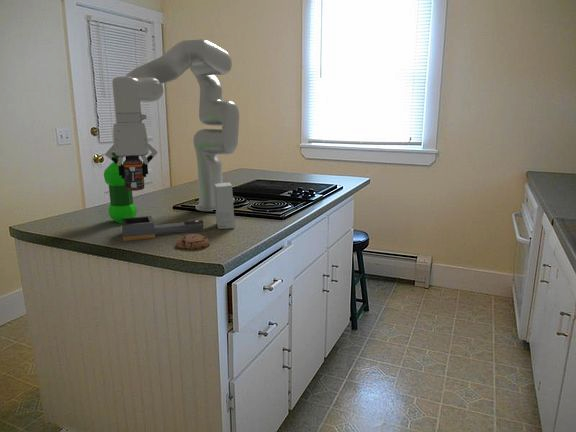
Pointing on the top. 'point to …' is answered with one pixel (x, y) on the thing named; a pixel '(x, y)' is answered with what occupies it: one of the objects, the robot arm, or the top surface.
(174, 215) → the top surface
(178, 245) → the cookie
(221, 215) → the skincare box
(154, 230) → the grey long handled piece
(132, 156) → the supplement bottle
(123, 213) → the plastic bottle
